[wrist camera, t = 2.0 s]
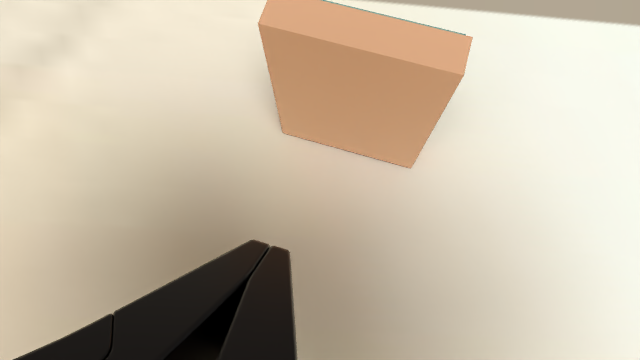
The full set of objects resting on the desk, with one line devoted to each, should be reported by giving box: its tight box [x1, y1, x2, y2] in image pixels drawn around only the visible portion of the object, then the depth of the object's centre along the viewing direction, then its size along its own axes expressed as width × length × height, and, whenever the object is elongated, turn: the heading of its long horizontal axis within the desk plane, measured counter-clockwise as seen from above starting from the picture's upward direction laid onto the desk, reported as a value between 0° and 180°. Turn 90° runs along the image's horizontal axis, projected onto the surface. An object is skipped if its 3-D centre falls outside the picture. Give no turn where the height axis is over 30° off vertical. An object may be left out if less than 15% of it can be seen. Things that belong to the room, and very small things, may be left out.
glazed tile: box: [258, 0, 473, 168], centre depth 19 cm, size 2×7×9 cm, turn 73°
